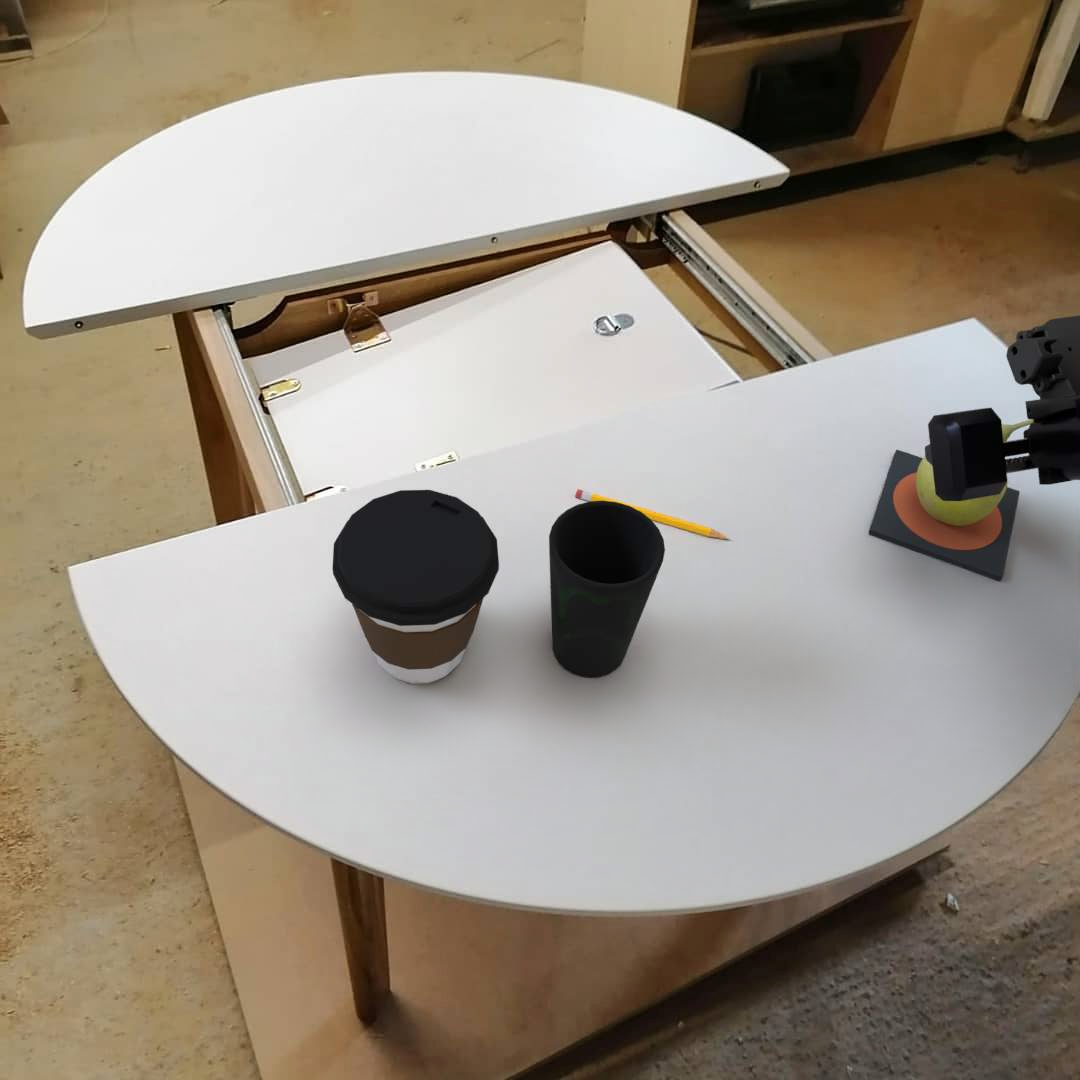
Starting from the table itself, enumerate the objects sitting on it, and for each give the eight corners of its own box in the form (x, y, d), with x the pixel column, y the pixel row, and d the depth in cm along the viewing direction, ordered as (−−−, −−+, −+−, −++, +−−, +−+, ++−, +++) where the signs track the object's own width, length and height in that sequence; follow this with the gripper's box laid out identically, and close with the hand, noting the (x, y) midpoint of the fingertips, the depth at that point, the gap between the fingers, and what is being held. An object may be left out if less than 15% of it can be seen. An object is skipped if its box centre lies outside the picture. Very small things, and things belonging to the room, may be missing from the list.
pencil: (577, 493, 86) (578, 487, 85) (730, 538, 84) (732, 533, 83) (574, 499, 85) (575, 493, 85) (728, 545, 83) (730, 539, 83)
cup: (641, 612, 78) (666, 506, 69) (638, 696, 73) (664, 594, 64) (542, 600, 78) (554, 493, 69) (532, 683, 73) (543, 580, 64)
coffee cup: (399, 570, 79) (392, 461, 70) (521, 629, 76) (530, 523, 67) (314, 670, 72) (294, 564, 63) (443, 739, 69) (442, 638, 60)
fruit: (898, 478, 88) (949, 372, 79) (983, 487, 88) (1044, 381, 79) (911, 535, 84) (966, 429, 75) (1001, 544, 84) (1067, 440, 75)
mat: (1017, 495, 89) (1020, 490, 88) (1000, 581, 82) (1003, 576, 82) (894, 453, 91) (896, 448, 91) (867, 534, 85) (870, 528, 84)
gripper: (1237, 297, 67) (1064, 331, 83) (998, 329, 63) (862, 358, 78) (1250, 462, 68) (1077, 466, 84) (1016, 504, 64) (878, 500, 79)
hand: (976, 444), depth 81 cm, fingers open, 9 cm apart
